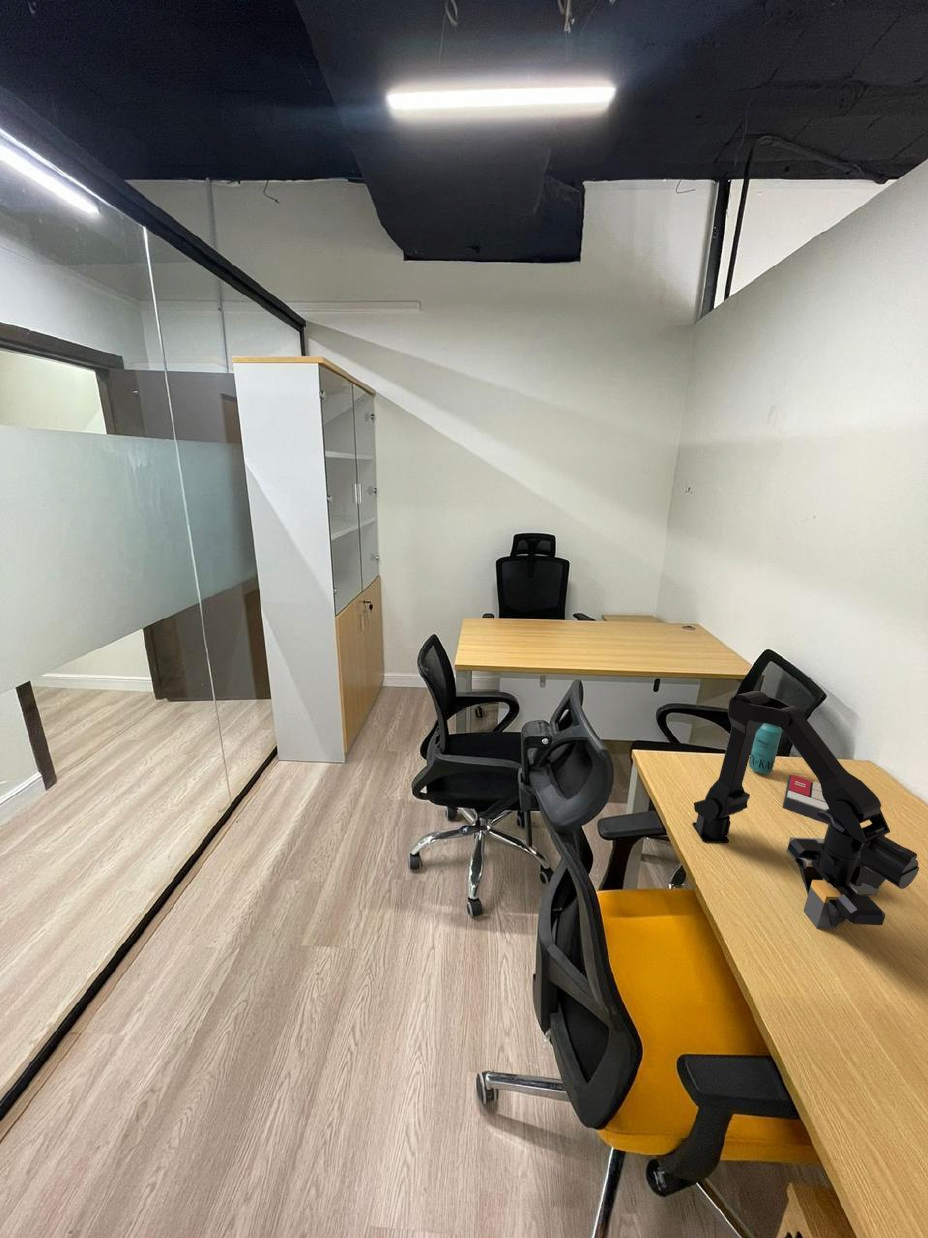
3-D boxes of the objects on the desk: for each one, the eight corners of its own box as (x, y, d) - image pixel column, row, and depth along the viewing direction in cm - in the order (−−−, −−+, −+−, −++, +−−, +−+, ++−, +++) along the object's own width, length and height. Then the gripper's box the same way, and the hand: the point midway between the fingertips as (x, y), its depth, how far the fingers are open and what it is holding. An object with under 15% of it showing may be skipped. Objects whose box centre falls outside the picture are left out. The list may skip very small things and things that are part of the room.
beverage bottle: (749, 763, 152) (762, 706, 146) (773, 772, 148) (787, 713, 142) (744, 772, 147) (758, 713, 141) (770, 781, 143) (784, 721, 137)
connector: (816, 928, 96) (826, 896, 94) (803, 911, 100) (812, 880, 97) (836, 929, 96) (846, 897, 94) (822, 912, 100) (832, 880, 97)
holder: (820, 892, 104) (825, 877, 103) (786, 851, 116) (790, 837, 115) (876, 894, 104) (881, 879, 103) (836, 853, 116) (841, 839, 115)
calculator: (836, 787, 136) (835, 812, 124) (832, 800, 137) (831, 826, 125) (790, 772, 142) (785, 794, 131) (786, 785, 143) (782, 808, 132)
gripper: (927, 889, 84) (901, 958, 88) (847, 817, 102) (829, 876, 106) (862, 887, 84) (840, 955, 88) (794, 815, 102) (778, 874, 106)
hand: (822, 912), depth 97 cm, fingers open, 6 cm apart
